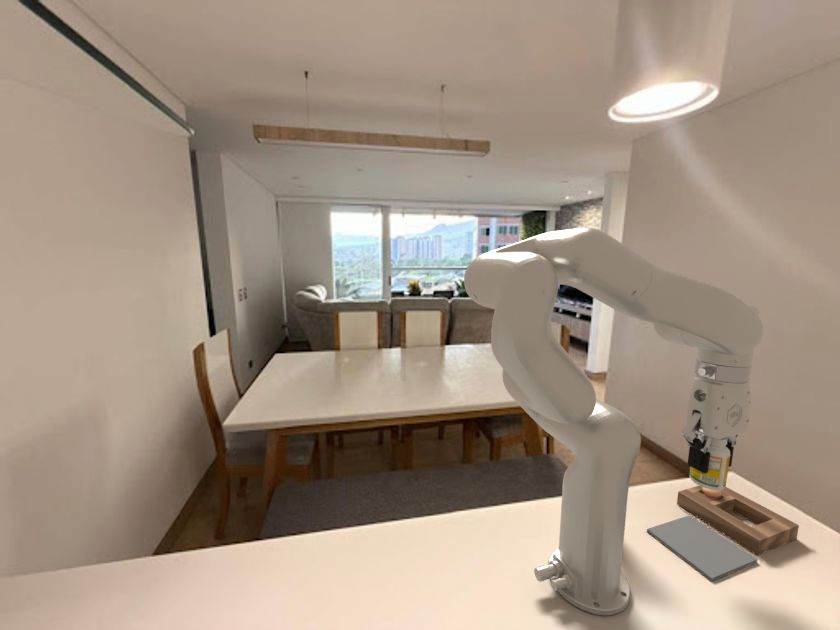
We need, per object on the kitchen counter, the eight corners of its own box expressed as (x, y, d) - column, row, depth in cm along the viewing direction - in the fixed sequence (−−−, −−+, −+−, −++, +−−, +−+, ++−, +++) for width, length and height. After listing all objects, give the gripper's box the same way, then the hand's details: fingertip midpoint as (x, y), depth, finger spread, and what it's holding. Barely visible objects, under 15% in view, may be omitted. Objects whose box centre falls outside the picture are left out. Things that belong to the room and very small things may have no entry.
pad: (711, 581, 61) (711, 578, 61) (646, 531, 72) (647, 528, 72) (756, 562, 65) (757, 559, 65) (688, 517, 76) (689, 515, 76)
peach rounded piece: (712, 512, 78) (714, 495, 77) (697, 502, 81) (699, 486, 80) (722, 508, 79) (724, 492, 78) (706, 499, 82) (709, 483, 81)
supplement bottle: (706, 492, 64) (712, 442, 62) (681, 474, 69) (687, 427, 67) (734, 490, 64) (741, 440, 63) (707, 473, 69) (713, 426, 68)
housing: (757, 555, 66) (759, 540, 66) (676, 503, 80) (678, 491, 80) (796, 538, 70) (798, 525, 70) (713, 492, 84) (714, 480, 84)
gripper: (711, 383, 57) (698, 487, 60) (778, 372, 63) (763, 468, 65) (665, 370, 64) (655, 463, 67) (729, 361, 70) (718, 448, 72)
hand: (709, 465), depth 66 cm, fingers closed on supplement bottle, 5 cm apart
